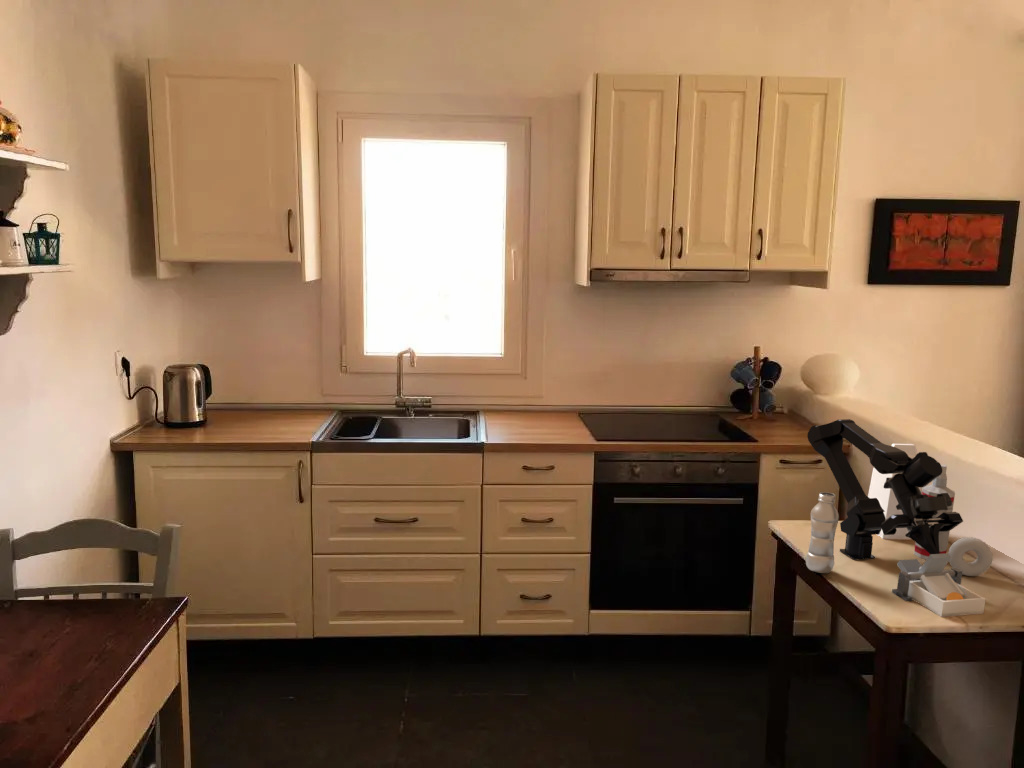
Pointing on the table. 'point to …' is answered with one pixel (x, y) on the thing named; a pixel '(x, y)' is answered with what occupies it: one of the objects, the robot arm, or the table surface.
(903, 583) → the stand
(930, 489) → the spray bottle
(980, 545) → the donut
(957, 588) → the lever
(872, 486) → the milk
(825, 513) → the plastic bottle
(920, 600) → the white storage bin
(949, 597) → the ball
